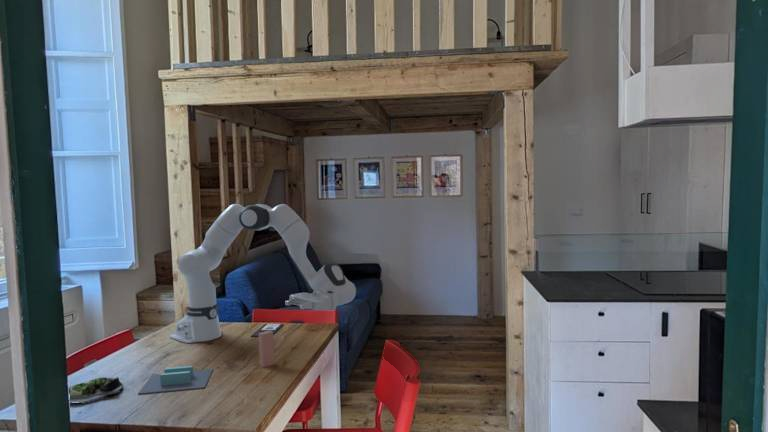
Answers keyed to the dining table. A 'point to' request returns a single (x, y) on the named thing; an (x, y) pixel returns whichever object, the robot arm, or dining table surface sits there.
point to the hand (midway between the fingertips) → (293, 305)
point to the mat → (196, 383)
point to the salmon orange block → (266, 348)
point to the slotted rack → (177, 375)
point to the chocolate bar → (268, 329)
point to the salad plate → (95, 389)
